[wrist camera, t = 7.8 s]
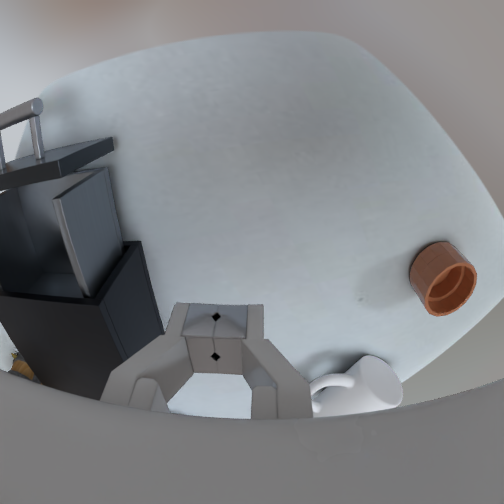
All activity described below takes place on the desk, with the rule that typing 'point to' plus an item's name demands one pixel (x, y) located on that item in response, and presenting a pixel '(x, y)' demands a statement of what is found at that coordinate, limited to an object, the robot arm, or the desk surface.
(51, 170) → the drawer
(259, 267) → the desk surface
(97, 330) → the black drawer cabinet
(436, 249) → the terracotta cup
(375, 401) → the mug
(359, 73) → the desk surface
